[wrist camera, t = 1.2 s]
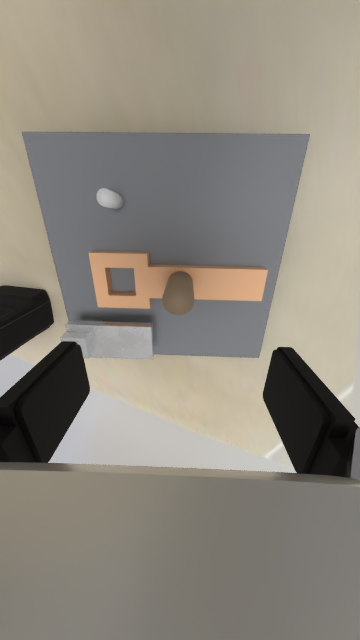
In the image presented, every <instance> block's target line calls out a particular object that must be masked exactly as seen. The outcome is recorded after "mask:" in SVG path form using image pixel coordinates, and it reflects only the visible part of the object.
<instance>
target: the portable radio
mask: <svg viewBox="0 0 360 640" xmlns="http://www.w3.org/2000/svg"><path fill="white" fill-rule="evenodd" d="M53 322H54V321H53V315H52V310H51V304H50V300H49V298H48V296H47V294H46V292H45V291H44V290H40V289H31V288H22V287H13V286H0V360H2V359H3V358H5V357H6V356H7V355H9V354H10V353H12V352H13V351H15V350H16V349H17V348H19V347H20V346H22V345H23V344H25V343H26V342H28V341H29V340H31V339H32V338H34V337H35V336H36V335H38V334H40V333H41V332H43V331H44V330H46V329H48V328H49V327H50V325H52V324H53Z"/></svg>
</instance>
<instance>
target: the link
mask: <svg viewBox="0 0 360 640" xmlns="http://www.w3.org/2000/svg"><path fill="white" fill-rule="evenodd" d="M89 259H90V265H91V270H92V276H93V282H94V288H95V294H96V299H97V305H98V307H108V308H142V309H150V307H151V305H152V300H151V298H162V303H163V306H164V308H165V309H166V310H167V311H168V312H169V313H171V314H173V315H184V314H186V313H188V312H189V311H190V310H191V309H192V308H193V305H194V299H201V300H237V301H262V297H263V292H264V287H265V282H266V277H267V273H268V269H266V268H264V267H237V266H195V265H153V264H150V257H149V252H117V251H92V252H89ZM110 268H134V276H135V288H136V292H113V290H112V282H111V275H110Z"/></svg>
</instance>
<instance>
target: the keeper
mask: <svg viewBox="0 0 360 640" xmlns="http://www.w3.org/2000/svg"><path fill="white" fill-rule="evenodd" d="M65 327H66V330H67V332H66V333H64V334H63V335H62V336H61V337H60V338H61V342H62V341H75V342H77V344H79V345H80V346H81V349H82V354H83V358H89V357H94V358H123V359H152V360H153V357H154V342H153V323H139V322H106V321H102V319H93V318H81V319H80V320H79V321H74V320H70V321H69V322H67V323H66V324H65Z"/></svg>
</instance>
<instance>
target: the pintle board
mask: <svg viewBox="0 0 360 640" xmlns="http://www.w3.org/2000/svg"><path fill="white" fill-rule="evenodd" d="M22 135H23V139H24V143H25V147H26V151H27V155H28V159H29V163H30V167H31V171H32V175H33V179H34V183H35V187H36V191H37V195H38V199H39V203H40V207H41V211H42V215H43V219H44V223H45V227H46V231H47V236H48V240H49V244H50V248H51V252H52V256H53V260H54V264H55V268H56V272H57V276H58V280H59V284H60V288H61V292H62V296H63V300H64V304H65V308H66V312H67V316H68V320H69V321H70V320H74V321H79V320H80V319H81V318H93V319H102V321H106V322H139V323H153V342H154V354H160V355H190V356H219V357H248V358H259V355H260V351H261V346H262V342H263V338H264V333H265V329H266V324H267V320H268V316H269V311H270V307H271V303H272V298H273V294H274V289H275V285H276V281H277V276H278V272H279V268H280V263H281V259H282V254H283V250H284V246H285V241H286V237H287V232H288V228H289V224H290V219H291V215H292V211H293V206H294V202H295V197H296V193H297V189H298V184H299V180H300V176H301V171H302V167H303V162H304V158H305V154H306V149H307V145H308V140H309V136H310V134H223V133H110V132H22ZM92 251H117V252H149V257H150V264H153V265H195V266H237V267H264V268H266V269H268V273H267V277H266V282H265V287H264V292H263V297H262V301H237V300H201V299H194V305H193V308H192V309H191V310H190V311H189V312H188V313H186V314H184V315H173V314H171V313H169V312H168V311H167V310H166V309H165V308H164V306H163V303H162V298H151V300H152V305H151V307H150V309H142V308H108V307H98V305H97V299H96V294H95V288H94V282H93V276H92V270H91V265H90V259H89V252H92ZM110 275H111V282H112V290H113V292H136V288H135V276H134V268H110Z"/></svg>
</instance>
